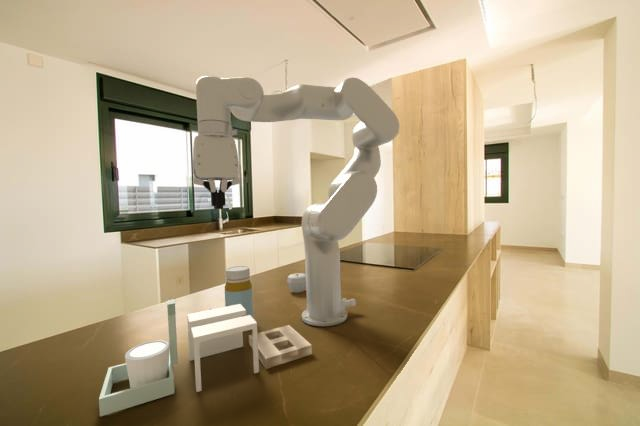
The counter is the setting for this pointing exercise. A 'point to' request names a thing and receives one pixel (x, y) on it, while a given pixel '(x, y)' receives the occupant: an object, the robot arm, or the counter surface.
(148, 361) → the white cup
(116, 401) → the slider
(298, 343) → the board
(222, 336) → the tunnel
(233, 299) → the bottle
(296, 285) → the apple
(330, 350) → the counter surface
